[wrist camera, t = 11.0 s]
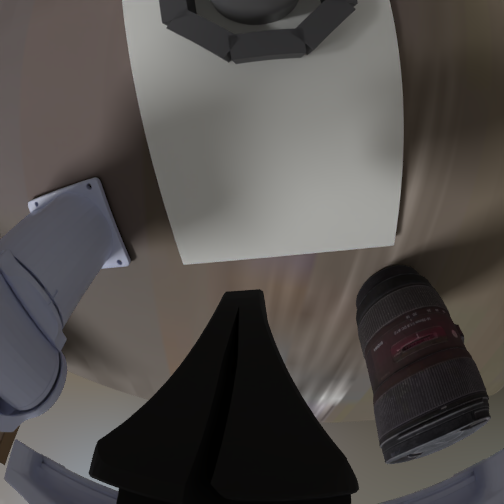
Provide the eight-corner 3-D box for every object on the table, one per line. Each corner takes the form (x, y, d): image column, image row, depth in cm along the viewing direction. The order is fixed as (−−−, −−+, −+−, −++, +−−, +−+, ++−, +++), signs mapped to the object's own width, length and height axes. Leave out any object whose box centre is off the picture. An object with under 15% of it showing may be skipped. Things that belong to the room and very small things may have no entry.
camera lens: (383, 243, 20) (465, 423, 7) (439, 273, 21) (508, 409, 9) (330, 311, 24) (357, 473, 12) (390, 328, 25) (426, 458, 13)
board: (186, 257, 21) (176, 283, 18) (125, -35, 8) (104, -48, 5) (389, 238, 19) (404, 262, 17) (362, -62, 6) (377, -80, 3)
